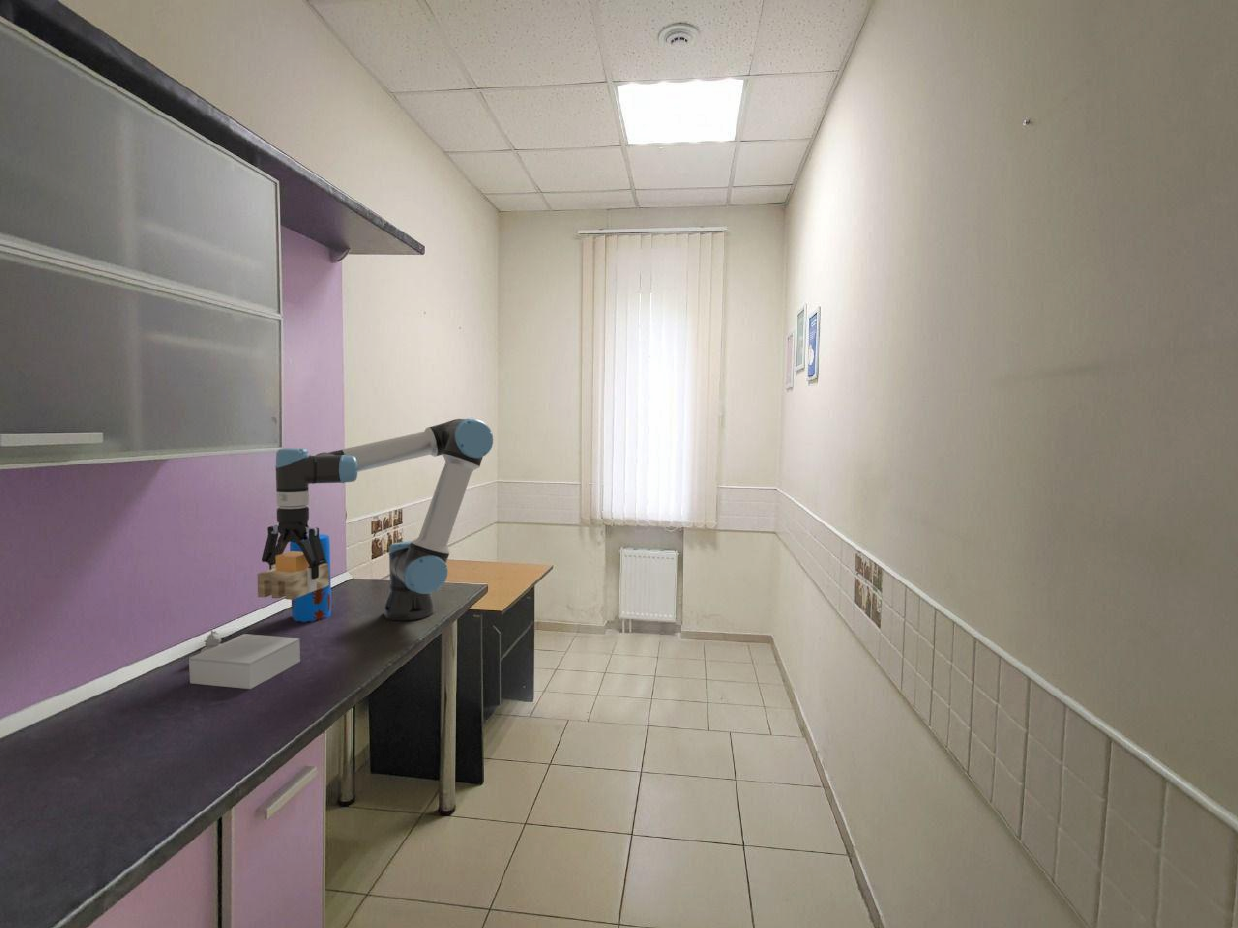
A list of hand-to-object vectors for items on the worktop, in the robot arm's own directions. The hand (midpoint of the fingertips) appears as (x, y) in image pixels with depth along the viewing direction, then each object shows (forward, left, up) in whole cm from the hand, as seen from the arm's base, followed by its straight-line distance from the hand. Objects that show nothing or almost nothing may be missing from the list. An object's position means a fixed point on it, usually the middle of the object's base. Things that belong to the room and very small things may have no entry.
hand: (294, 589), depth 159 cm
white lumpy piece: (+11, -14, -16) cm, 24 cm away
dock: (+16, -1, -16) cm, 23 cm away
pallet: (0, 0, 0) cm, 0 cm away
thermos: (-24, -14, -16) cm, 32 cm away
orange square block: (0, 0, +6) cm, 6 cm away
